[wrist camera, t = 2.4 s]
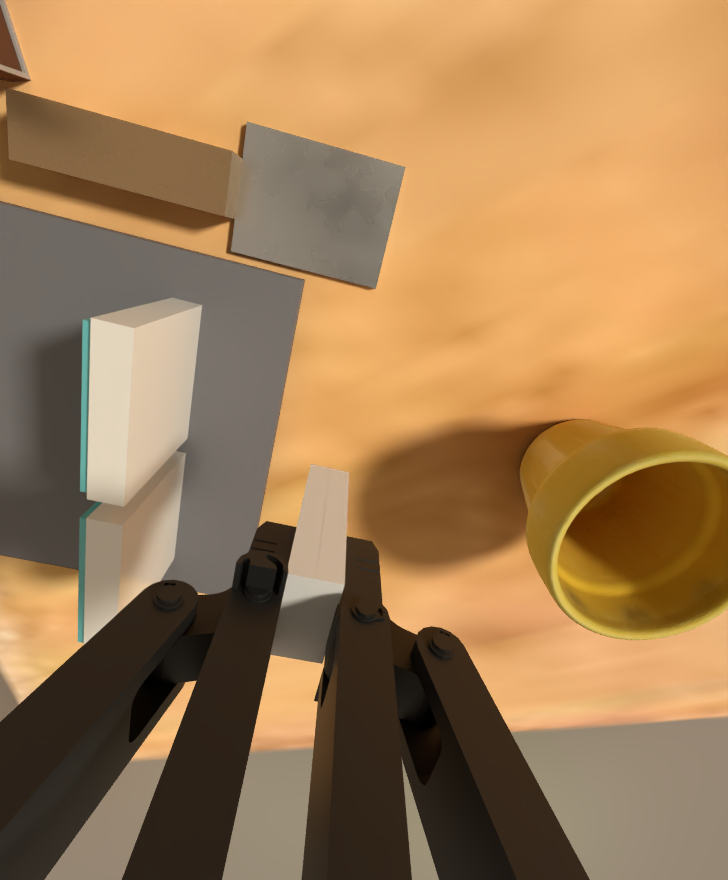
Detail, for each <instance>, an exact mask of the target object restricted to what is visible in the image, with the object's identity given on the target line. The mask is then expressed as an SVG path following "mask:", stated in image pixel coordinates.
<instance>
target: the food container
mask: <svg viewBox="0 0 728 880" xmlns="http://www.w3.org/2000/svg"><path fill="white" fill-rule="evenodd" d="M0 80H7V81H27V80H30V76H29V73H28V70H27V67H26V64H25V61H24V58H23V55H22V52H21V49H20V46H19V42H18V39H17V36H16V33H15V30H14V27H13V24H12V21H11V18H10V15H9V12H8V9H7V5H6V2H5V0H0Z"/></svg>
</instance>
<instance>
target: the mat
mask: <svg viewBox="0 0 728 880" xmlns="http://www.w3.org/2000/svg"><path fill="white" fill-rule="evenodd" d="M304 281H305V280H304V279H300V278H296V277H292V276H288V275H284V274H280V273H276V272H273V271H269V270H265V269H261V268H257V267H253V266H249V265H246V264H242V263H238V262H234V261H230V260H226V259H222V258H219V257H215V256H211V255H207V254H203V253H199V252H195V251H191V250H188V249H184V248H180V247H176V246H172V245H168V244H164V243H161V242H157V241H153V240H149V239H145V238H141V237H137V236H133V235H130V234H126V233H122V232H118V231H114V230H110V229H106V228H103V227H99V226H95V225H91V224H87V223H83V222H79V221H75V220H72V219H68V218H64V217H60V216H56V215H52V214H48V213H45V212H41V211H37V210H33V209H29V208H25V207H21V206H18V205H14V204H10V203H6V202H2V201H0V555H3V556H8V557H14V558H19V559H24V560H29V561H35V562H40V563H45V564H51V565H56V566H61V567H67V568H72V569H77V570H79V527H80V517H81V516H82V515H83V514H84V513H85V512H86V511H87V510H88V509H89V508H91V507H92V506H93V505H94V504H95V503H96V502H97V501H93V500H88V499H87V493H86V492H81V491H80V461H81V394H82V328H83V319H88V318H92V317H96V316H100V315H104V314H108V313H112V312H116V311H120V310H124V309H128V308H132V307H136V306H140V305H144V304H148V303H153V302H157V301H161V300H165V299H169V298H175V299H179V300H183V301H188V302H192V303H196V304H200V305H202V311H201V320H200V329H199V338H198V347H197V356H196V366H195V375H194V384H193V393H192V402H191V411H190V420H189V429H188V438H187V440H186V441H185V442H184V443H183V444H182V445H181V446H180V447H179V448H178V449H177V450H176V451H178V452H182V453H186V456H185V465H184V474H183V483H182V493H181V502H180V511H179V520H178V529H177V538H176V547H175V556H174V560H173V561H172V563H171V564H170V566H169V568H168V569H167V571H166V573H165V574H164V576H163V578H162V579H161V581H163V580H178V581H183V582H186V583H188V584H189V585H191V586H193V587H194V589H195V590H196V592H199V593H205V594H216V593H220V592H223V591H226V590H228V589H229V588H231V587H232V583H233V578H234V572H235V566H236V562H237V560H238V559H239V558H240V556H242V555H244V554H246V553H248V552H249V549H250V546H251V544H252V541H253V538H254V536H255V533H256V530H257V528H258V526H259V521H260V515H261V510H262V505H263V499H264V494H265V489H266V483H267V478H268V473H269V467H270V462H271V457H272V451H273V446H274V441H275V436H276V430H277V425H278V420H279V414H280V409H281V404H282V398H283V393H284V388H285V382H286V377H287V372H288V366H289V361H290V356H291V351H292V345H293V340H294V335H295V329H296V324H297V319H298V313H299V308H300V303H301V297H302V292H303V287H304Z"/></svg>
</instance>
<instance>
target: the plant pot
mask: <svg viewBox="0 0 728 880" xmlns="http://www.w3.org/2000/svg"><path fill="white" fill-rule="evenodd" d="M520 482H521V486H522V490H523V494H524V498H525V501H526V505H527V509H528V516H527V523H526V539H527V546H528V549H529V553H530V555H531V558H532V560H533V562H534V565H535V567H536V569H537V571H538V573H539V575H540V577H541V578H542V580H543V582H544V584H545V585H546V587H547V589H548V590H549V592H550V594H551V595H552V597H553V599H554V600H555V602H556V603H557V604H558V606H559V607H560V608H561V610H562V611H563V612H564V613H565V614H566V615H567V616H568V617H570V618H571V619H572V620H573V621H575V622H576V623H577V624H579V625H581V626H582V627H584V628H586V629H588V630H590V631H593V632H595V633H598V634H601V635H604V636H608V637H612V638H617V639H626V640H648V639H657V638H663V637H667V636H672V635H676V634H679V633H682V632H685V631H688V630H691V629H694V628H696V627H698V626H700V625H702V624H704V623H706V622H708V621H710V620H712V619H713V618H715V617H717V616H718V615H720V614H721V613H723V612H724V611H725V610H727V609H728V456H727V455H725V454H723V453H721V452H720V451H718V450H716V449H714V448H712V447H710V446H708V445H706V444H704V443H702V442H700V441H697V440H695V439H693V438H691V437H688V436H686V435H683V434H681V433H678V432H674V431H670V430H665V429H657V428H634V429H623V428H619V427H615V426H611V425H607V424H604V423H600V422H597V421H593V420H584V419H579V420H570V421H565V422H562V423H559V424H557V425H554V426H552V427H550V428H549V429H547V430H545V431H544V432H543V433H541V434H540V435H539V436H538V437H537V438H536V439H535V440H534V441H533V442H532V443H531V445H530V446H529V447H528V449H527V451H526V452H525V454H524V457H523V459H522V462H521V467H520Z"/></svg>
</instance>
